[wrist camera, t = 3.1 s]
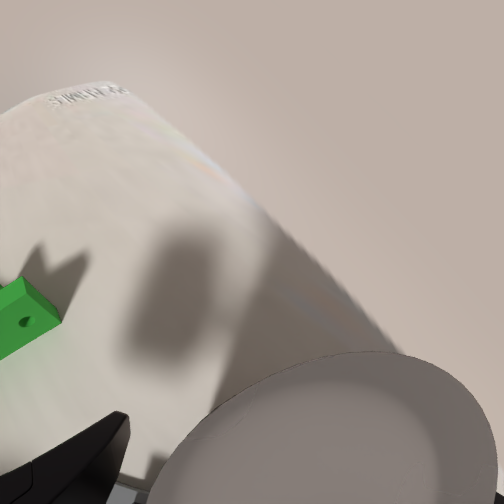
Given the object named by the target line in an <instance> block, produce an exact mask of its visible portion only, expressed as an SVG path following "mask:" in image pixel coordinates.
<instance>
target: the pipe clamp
mask: <svg viewBox="0 0 504 504" xmlns="http://www.w3.org/2000/svg"><path fill="white" fill-rule="evenodd" d="M59 324H61V320H60V317H59V315H58V312H57V309H56V308H55V307H54V306H53V305H52V304H51V303H50V302H49V301H48V300H47V299H46V298H45V297H43V296H42V295H41V294H40V293H39V292H38V291H37V290H36V289H35V288H34V287H33V286H32V285H31V284H30V283H29V282H28V281H27V280H26V279H25V278H24V277H23V276H21V277H20V278H18V279H16V280H15V281H13V282H12V283H10V284H9V285H7V286H6V287H3V286H2V285H0V360H2V359H3V358H5V357H6V356H8V355H10V354H11V353H13V352H14V351H16V350H18V349H19V348H21V347H23V346H24V345H26V344H28V343H29V342H31V341H32V340H34V339H36V338H37V337H39V336H41V335H42V334H44V333H46V332H47V331H49V330H51V329H52V328H54V327H56V326H57V325H59Z"/></svg>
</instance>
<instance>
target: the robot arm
mask: <svg viewBox="0 0 504 504" xmlns="http://www.w3.org/2000/svg"><path fill="white" fill-rule="evenodd" d="M130 433H131V431H130V421H129V416H128V415H127V414H125V413H122V412H119V411H114V412H112V413H111V414H109V415H108V416H106V417H104V418H103V419H101V420H100V421H98V422H96V423H95V424H93V425H91V426H90V427H88V428H87V429H85V430H83V431H82V432H80V433H78V434H77V435H75V436H73V437H72V438H70V439H68V440H67V441H65V442H63V443H62V444H60V445H58V446H56V447H55V448H53V449H51V450H50V451H48V452H46V453H44V454H43V455H41V456H39V457H37V458H35V459H34V460H32V462H28V463H26V464H24V465H23V466H21V467H19V468H17V469H15V470H13V471H10V472H8V473H6V474H3V475H1V476H0V504H106V503H107V500H108V498H109V496H110V494H111V491H112V489H113V487H114V485H115V483H116V480H117V478H118V475H119V472H120V468H121V465H122V462H123V458H124V455H125V452H126V448H127V445H128V442H129V439H130ZM494 504H504V496H502V495H501V494H499V493H497V492H496V494H495V499H494Z"/></svg>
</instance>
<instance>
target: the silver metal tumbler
mask: <svg viewBox="0 0 504 504" xmlns="http://www.w3.org/2000/svg"><path fill="white" fill-rule="evenodd" d="M497 477H498V464H497V452H496V446H495V441H494V437H493V434H492V430H491V427H490V424H489V422H488V420H487V418H486V416H485V414H484V412H483V410H482V408H481V407H480V405H479V404H478V402H477V401H476V399H475V398H474V396H473V395H472V394H471V393H470V392H469V391H468V390H467V389H466V388H465V386H464V385H463V384H462V383H460V382H459V381H458V380H457V379H455V378H454V377H453V376H452V375H450V374H449V373H447V372H445V371H444V370H442V369H440V368H439V367H437V366H434V365H433V364H431V363H428V362H426V361H423V360H420V359H418V358H415V357H410V356H406V355H401V354H397V353H388V352H375V351H370V352H349V353H344V354H338V355H332V356H326V357H322V358H318V359H315V360H311V361H308V362H304V363H301V364H298V365H295V366H293V367H290V368H288V369H285V370H283V371H280V372H278V373H275V374H273V375H271V376H269V377H267V378H265V379H263V380H261V381H260V382H258V383H256V384H254V385H252V386H250V387H248V388H246V389H245V390H243V391H242V392H240V393H239V394H237V395H235V396H234V397H232V398H231V399H229V400H228V401H226V402H225V403H223V404H221V405H220V406H218V407H217V408H216V409H215V410H213V411H212V412H211V413H210V414H209V415H207V416H206V417H205V418H204V419H203V420H201V421H200V423H199V424H198V425H197V426H196V427H195V428H194V429H193V430H192V431H191V432H190V433H189V434H188V435H187V437H186V438H185V439H184V440H183V441H182V442H181V443H180V444H179V445H178V447H177V448H176V449H175V451H174V452H173V454H172V455H171V456H170V458H169V459H168V460H167V462H166V463H165V465H164V466H163V467H162V469H161V471H160V473H159V475H158V477H157V479H156V481H155V483H154V484H153V486H152V488H151V490H150V493H149V496H148V499H147V502H146V504H494V499H495V494H496V488H497Z"/></svg>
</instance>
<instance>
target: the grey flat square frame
mask: <svg viewBox="0 0 504 504" xmlns="http://www.w3.org/2000/svg"><path fill="white" fill-rule="evenodd" d="M149 493H150V492H148V491H145V490H141V489H138V488H134V487H131V486H128V485H125V484H122V483H119V482H116V483H115V485H114V487H113V489H112V491H111V494H110V496H109V498H108V500H107V503H106V504H132V503H133V502H137V503H140V504H146V502H147V499H148V496H149Z"/></svg>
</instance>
